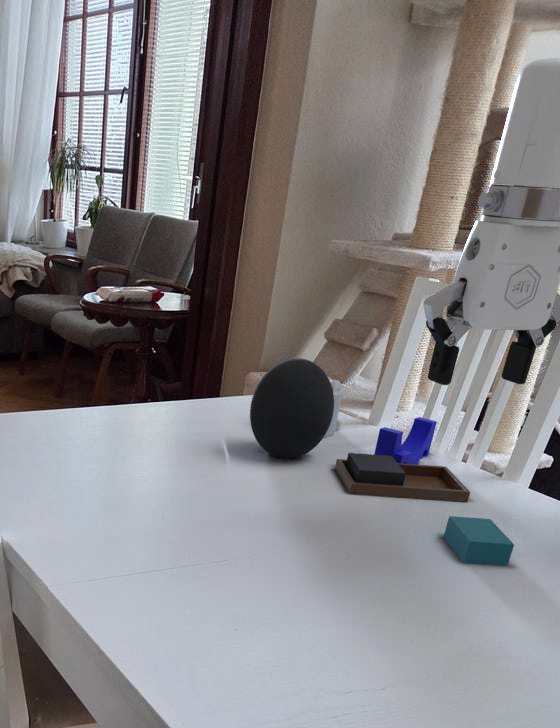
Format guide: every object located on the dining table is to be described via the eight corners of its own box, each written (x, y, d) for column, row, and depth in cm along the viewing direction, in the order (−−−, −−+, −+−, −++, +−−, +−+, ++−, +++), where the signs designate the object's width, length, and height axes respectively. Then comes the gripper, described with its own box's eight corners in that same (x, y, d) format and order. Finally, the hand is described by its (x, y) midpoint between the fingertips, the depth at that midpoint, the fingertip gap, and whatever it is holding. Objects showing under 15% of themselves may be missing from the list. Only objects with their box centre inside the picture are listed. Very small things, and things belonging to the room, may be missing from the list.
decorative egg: (317, 448, 138) (335, 353, 131) (329, 473, 128) (349, 370, 120) (241, 443, 139) (254, 347, 132) (246, 466, 129) (261, 364, 121)
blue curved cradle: (397, 475, 129) (407, 435, 126) (371, 467, 131) (380, 428, 128) (436, 461, 136) (445, 423, 133) (410, 453, 139) (419, 417, 136)
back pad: (387, 475, 127) (392, 455, 125) (401, 493, 120) (406, 473, 118) (344, 472, 127) (348, 452, 125) (355, 490, 120) (359, 469, 118)
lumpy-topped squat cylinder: (336, 423, 153) (346, 373, 149) (332, 442, 142) (342, 389, 138) (278, 415, 156) (286, 367, 151) (269, 434, 145) (277, 382, 140)
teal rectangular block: (482, 545, 106) (490, 518, 104) (505, 572, 99) (514, 544, 97) (441, 542, 106) (449, 515, 104) (461, 569, 99) (470, 541, 97)
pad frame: (442, 479, 128) (446, 466, 127) (466, 505, 118) (470, 492, 117) (334, 471, 129) (336, 458, 128) (348, 497, 119) (351, 483, 118)
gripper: (476, 206, 80) (429, 391, 88) (623, 214, 84) (565, 389, 93) (427, 201, 86) (388, 374, 95) (566, 209, 91) (517, 373, 99)
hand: (475, 381), depth 94 cm, fingers open, 9 cm apart
